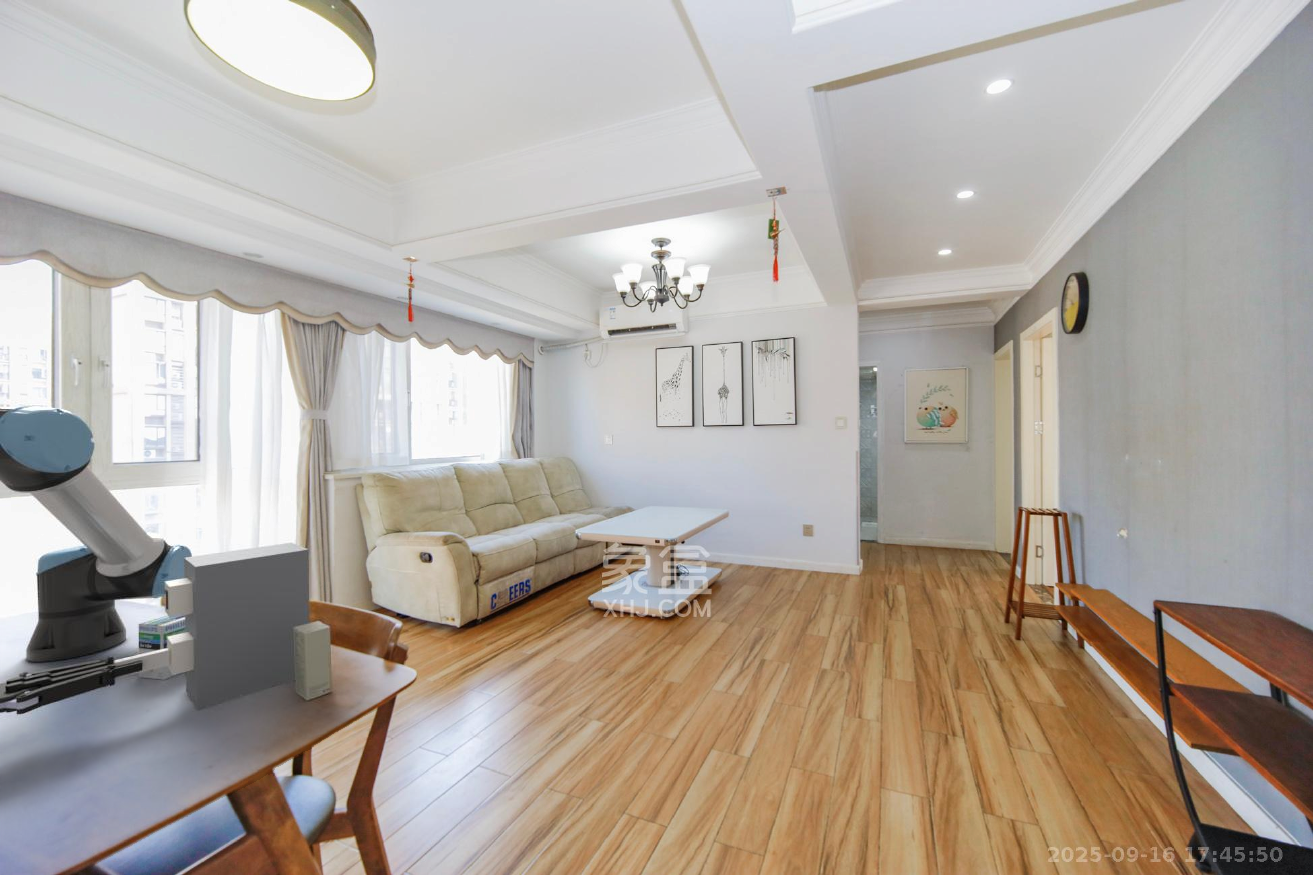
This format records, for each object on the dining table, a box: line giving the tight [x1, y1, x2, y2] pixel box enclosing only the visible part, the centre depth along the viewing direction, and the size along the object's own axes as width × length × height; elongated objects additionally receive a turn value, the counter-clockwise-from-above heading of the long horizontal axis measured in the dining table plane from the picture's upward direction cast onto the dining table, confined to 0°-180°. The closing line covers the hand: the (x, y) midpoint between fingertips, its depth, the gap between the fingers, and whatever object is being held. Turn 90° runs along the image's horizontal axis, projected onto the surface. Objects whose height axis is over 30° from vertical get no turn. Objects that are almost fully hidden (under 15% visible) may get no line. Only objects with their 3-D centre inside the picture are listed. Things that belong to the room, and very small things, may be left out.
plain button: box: [167, 632, 194, 676], centre depth 94 cm, size 5×6×5 cm
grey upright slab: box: [184, 542, 311, 711], centre depth 100 cm, size 11×17×25 cm, turn 140°
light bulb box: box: [138, 614, 185, 681], centre depth 107 cm, size 11×7×11 cm, turn 168°
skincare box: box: [293, 620, 333, 701], centre depth 96 cm, size 6×4×12 cm
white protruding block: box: [164, 578, 193, 618], centre depth 93 cm, size 5×6×5 cm
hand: (168, 656), depth 91 cm, fingers closed
